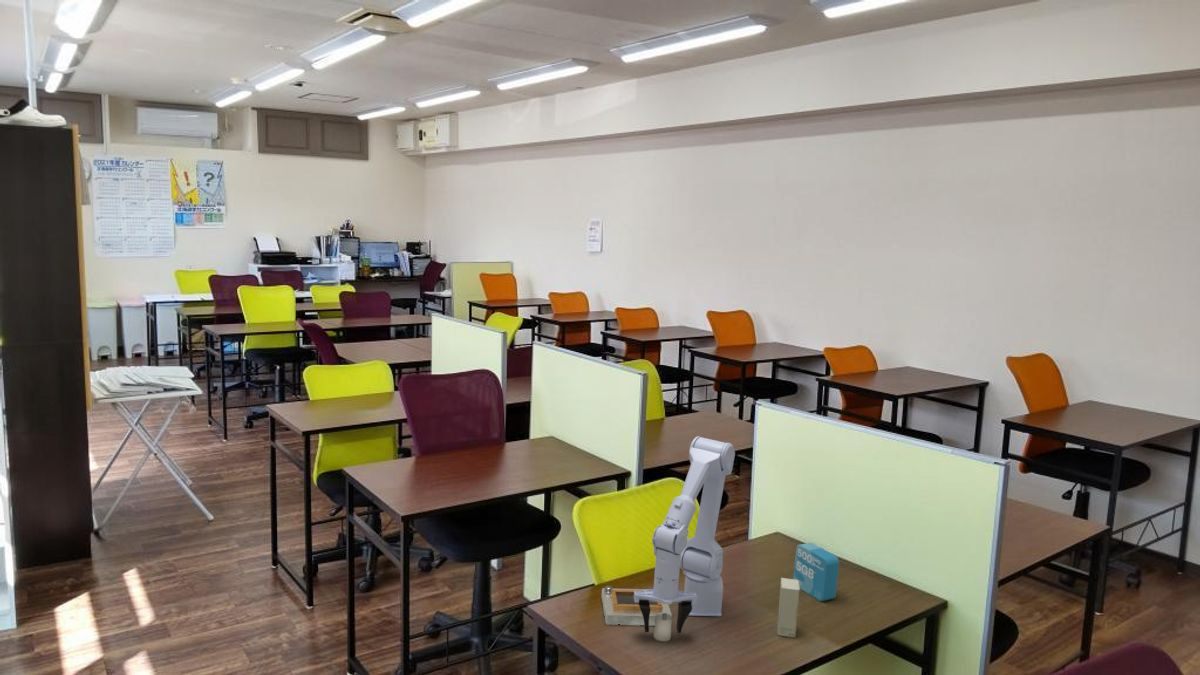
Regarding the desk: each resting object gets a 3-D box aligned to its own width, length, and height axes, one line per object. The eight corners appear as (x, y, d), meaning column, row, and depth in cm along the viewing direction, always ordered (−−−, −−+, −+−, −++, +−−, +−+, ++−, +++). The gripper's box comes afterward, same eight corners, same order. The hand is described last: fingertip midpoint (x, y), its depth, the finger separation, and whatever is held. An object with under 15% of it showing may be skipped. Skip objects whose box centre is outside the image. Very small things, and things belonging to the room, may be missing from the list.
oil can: (669, 632, 193) (671, 608, 192) (671, 641, 189) (673, 616, 188) (652, 632, 192) (654, 607, 191) (654, 641, 188) (656, 616, 187)
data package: (792, 584, 223) (796, 542, 221) (804, 581, 225) (809, 540, 223) (822, 603, 212) (827, 560, 210) (835, 600, 214) (840, 557, 212)
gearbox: (663, 598, 209) (664, 586, 209) (671, 626, 196) (672, 612, 195) (601, 597, 208) (602, 584, 208) (605, 624, 194) (606, 611, 194)
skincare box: (795, 638, 193) (800, 590, 191) (776, 635, 194) (781, 588, 192) (794, 625, 199) (799, 579, 198) (776, 623, 200) (780, 576, 198)
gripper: (637, 582, 184) (633, 638, 186) (700, 584, 185) (696, 639, 187) (634, 569, 191) (630, 623, 193) (695, 571, 192) (690, 624, 194)
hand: (662, 630), depth 190 cm, fingers open, 7 cm apart
